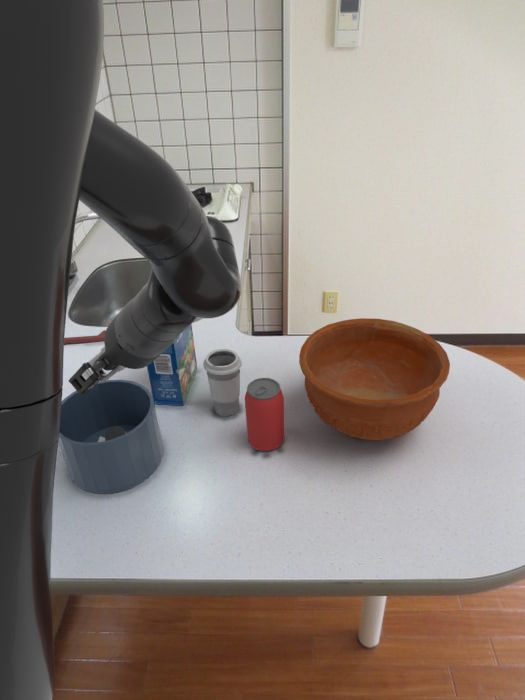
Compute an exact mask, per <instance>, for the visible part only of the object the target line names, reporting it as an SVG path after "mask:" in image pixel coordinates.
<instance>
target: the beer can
mask: <svg viewBox="0 0 525 700" xmlns="http://www.w3.org/2000/svg"><path fill="white" fill-rule="evenodd" d="M284 401H285V397H284V394H283V391H282V389H281V384H280V383H279V382H278V381H277V380H275V379H273V378H269V377H259V378H255V379H253V380H252V381H250V382H249V383H248V384H247V387H246V392H245V395H244V408H245V409H244V410H245V421H246V422H245V423H246V435H247V442H248V443H249V445H250V447H252V448H253V449H254V450H257V451H259V452H260V451H261V452H270V451H274V450H276V449H278V448H279V447H281V446H282V444H283V443H284V441H285V402H284Z"/></svg>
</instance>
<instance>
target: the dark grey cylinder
mask: <svg viewBox="0 0 525 700" xmlns="http://www.w3.org/2000/svg"><path fill="white" fill-rule="evenodd" d="M126 433H127V432H125V430H124V429H123V428H121V427H119V426H113V427H111V428H109V429H108V430H107V431H106V433H105V438H104V437H101V436H100V437H99V440H98V442H102V441H107V440H112V439H114V438H117V437H119V436H122V435H124V434H126Z"/></svg>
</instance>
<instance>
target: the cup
mask: <svg viewBox="0 0 525 700" xmlns="http://www.w3.org/2000/svg"><path fill="white" fill-rule="evenodd" d="M242 364H243V362H242V360H241V358H240V356H239V354H238V353H237V352H236V351H234V350H232V349H229V348H217V349H214V350H212V351H210V352H208V353H207V354H206V356H205V358H204V360H203V364H202V365H203V368H204V370H205V371H206V376H207V381H208V386H209V390H210V391H209V392H210V396H211V398H212V401H213V402H212V403H213V407H214V411H215V413H216V414H217V415H219V416H220V417H230V416H233V415H235V414H236V413H238V411H239V410H240V394H241V367H242Z"/></svg>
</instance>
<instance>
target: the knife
mask: <svg viewBox="0 0 525 700" xmlns="http://www.w3.org/2000/svg"><path fill="white" fill-rule="evenodd" d="M105 332H106V329H104V330H102V331H101V332H100V333H98V334H97V335H85V336H84V335H82V336H69V337H64V345H65V344H67V345H68V344H81V343H82V344H83V343H97V342H103V341H104V336H105Z"/></svg>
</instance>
